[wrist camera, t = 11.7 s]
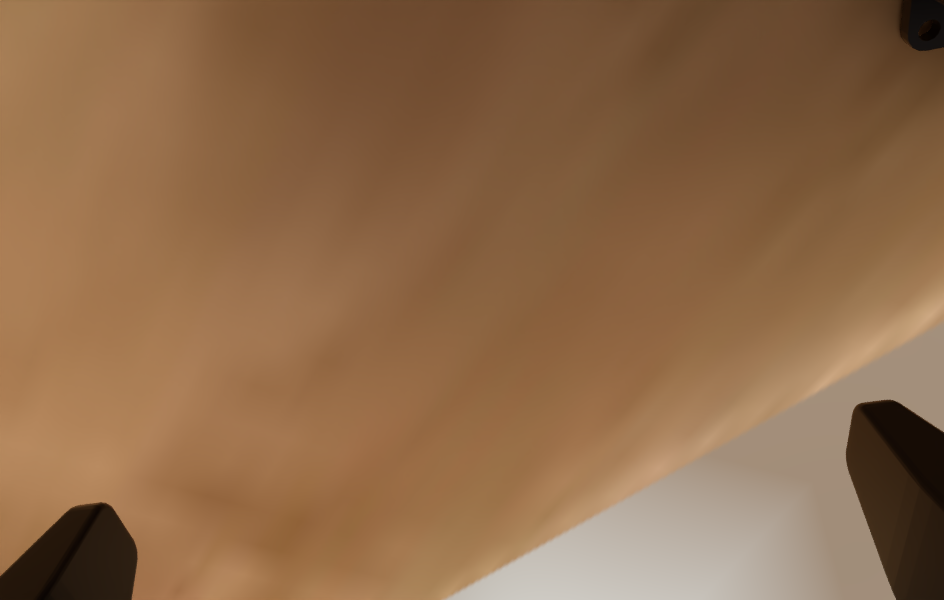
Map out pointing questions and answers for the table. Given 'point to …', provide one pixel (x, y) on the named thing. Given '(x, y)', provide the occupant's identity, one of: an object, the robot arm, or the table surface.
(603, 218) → the table surface
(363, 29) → the table surface
